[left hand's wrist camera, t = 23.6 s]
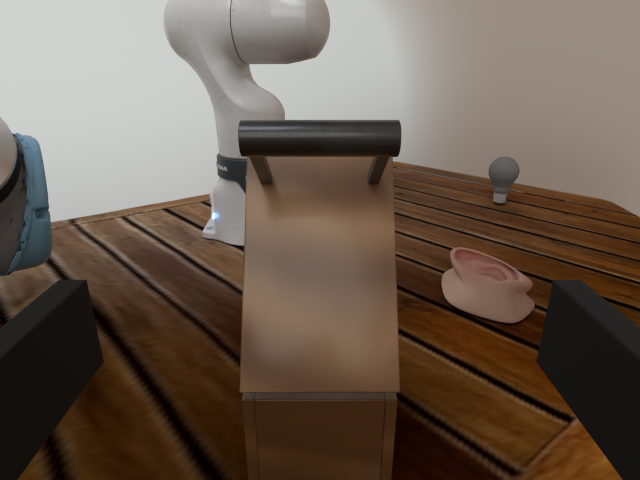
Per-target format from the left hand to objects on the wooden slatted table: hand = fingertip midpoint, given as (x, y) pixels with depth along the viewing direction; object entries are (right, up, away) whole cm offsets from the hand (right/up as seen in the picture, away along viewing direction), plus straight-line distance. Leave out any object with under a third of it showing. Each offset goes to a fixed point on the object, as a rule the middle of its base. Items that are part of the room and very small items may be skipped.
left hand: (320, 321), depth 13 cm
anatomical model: (+21, -5, +45) cm, 50 cm away
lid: (0, +1, +16) cm, 16 cm away
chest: (0, -13, +24) cm, 27 cm away
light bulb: (+39, +10, +84) cm, 93 cm away
